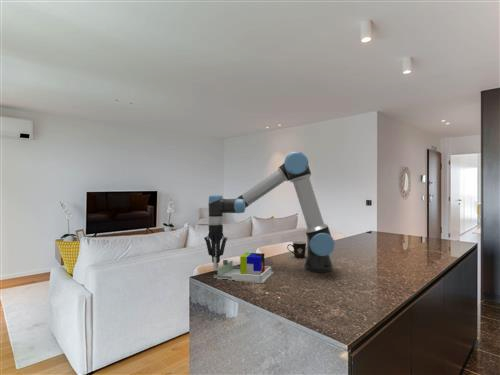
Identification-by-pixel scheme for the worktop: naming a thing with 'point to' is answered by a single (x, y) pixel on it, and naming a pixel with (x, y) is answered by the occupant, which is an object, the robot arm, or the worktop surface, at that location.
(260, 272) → the puzzle toy
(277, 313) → the worktop surface
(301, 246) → the coffee mug
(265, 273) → the housing
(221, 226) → the robot arm
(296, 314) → the worktop surface
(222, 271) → the gate
